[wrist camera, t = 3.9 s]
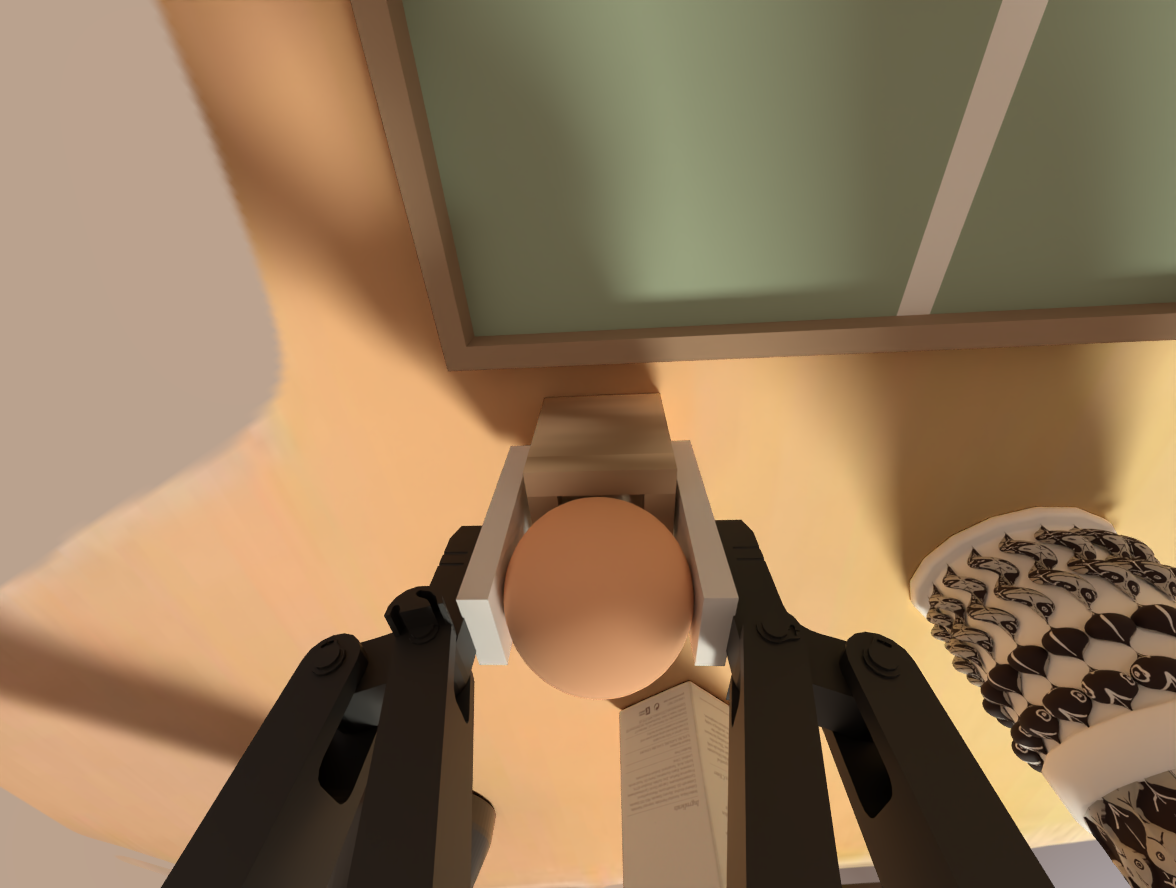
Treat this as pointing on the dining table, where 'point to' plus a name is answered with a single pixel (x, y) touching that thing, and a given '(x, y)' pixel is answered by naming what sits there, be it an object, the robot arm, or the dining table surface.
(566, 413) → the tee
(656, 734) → the small box
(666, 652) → the ball
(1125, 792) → the decorative candle
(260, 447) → the dining table surface
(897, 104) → the tray
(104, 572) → the dining table surface
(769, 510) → the dining table surface
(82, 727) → the dining table surface
